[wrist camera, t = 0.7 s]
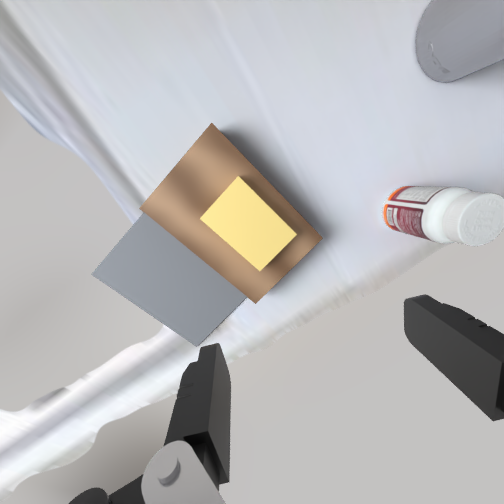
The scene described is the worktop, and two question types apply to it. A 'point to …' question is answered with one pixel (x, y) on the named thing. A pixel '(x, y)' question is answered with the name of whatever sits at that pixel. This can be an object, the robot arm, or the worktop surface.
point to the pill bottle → (445, 214)
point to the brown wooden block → (205, 194)
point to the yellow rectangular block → (248, 224)
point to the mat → (168, 281)
